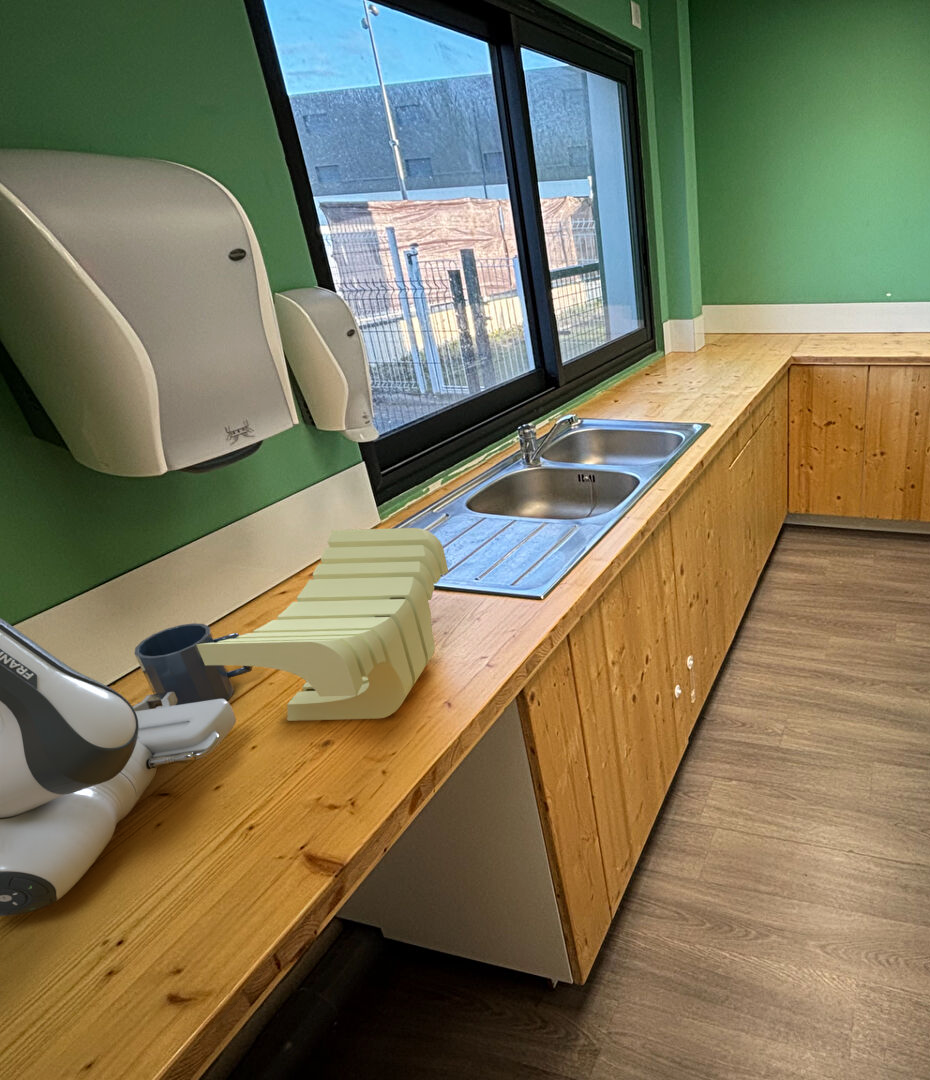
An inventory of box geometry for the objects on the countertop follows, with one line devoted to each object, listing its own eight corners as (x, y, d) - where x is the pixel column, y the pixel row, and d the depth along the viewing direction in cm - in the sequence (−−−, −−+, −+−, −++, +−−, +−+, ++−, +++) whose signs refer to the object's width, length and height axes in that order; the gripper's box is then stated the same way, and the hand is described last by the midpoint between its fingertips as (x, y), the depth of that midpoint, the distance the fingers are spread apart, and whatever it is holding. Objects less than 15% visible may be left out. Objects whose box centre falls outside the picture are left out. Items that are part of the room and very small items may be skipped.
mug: (162, 728, 92) (132, 665, 87) (164, 696, 98) (136, 636, 94) (259, 696, 97) (235, 636, 93) (255, 668, 103) (233, 610, 99)
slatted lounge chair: (378, 764, 84) (339, 640, 77) (248, 767, 85) (196, 644, 77) (461, 628, 112) (438, 527, 104) (362, 631, 112) (332, 530, 104)
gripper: (197, 735, 78) (244, 664, 90) (-18, 769, 74) (62, 690, 86) (216, 778, 80) (260, 703, 93) (10, 812, 77) (84, 730, 89)
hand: (163, 697), depth 89 cm, fingers closed
